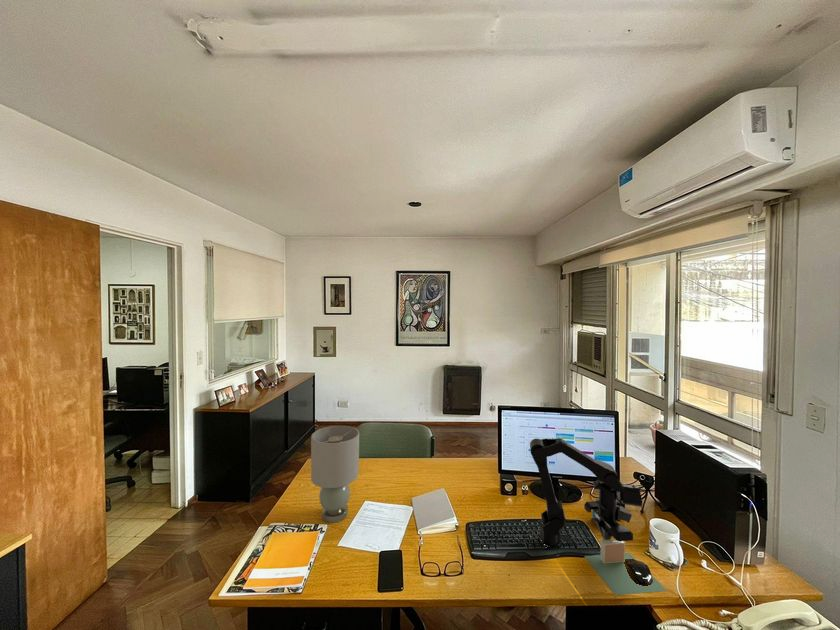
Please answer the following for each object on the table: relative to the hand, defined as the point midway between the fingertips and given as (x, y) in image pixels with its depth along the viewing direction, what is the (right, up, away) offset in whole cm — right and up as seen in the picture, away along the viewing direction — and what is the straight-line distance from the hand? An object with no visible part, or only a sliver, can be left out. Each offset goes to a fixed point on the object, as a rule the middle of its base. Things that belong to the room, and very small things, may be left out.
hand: (606, 542), depth 118 cm
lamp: (-106, -3, +20) cm, 108 cm away
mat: (+1, -5, -8) cm, 10 cm away
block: (0, -4, -3) cm, 5 cm away
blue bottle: (+10, -5, +19) cm, 22 cm away
